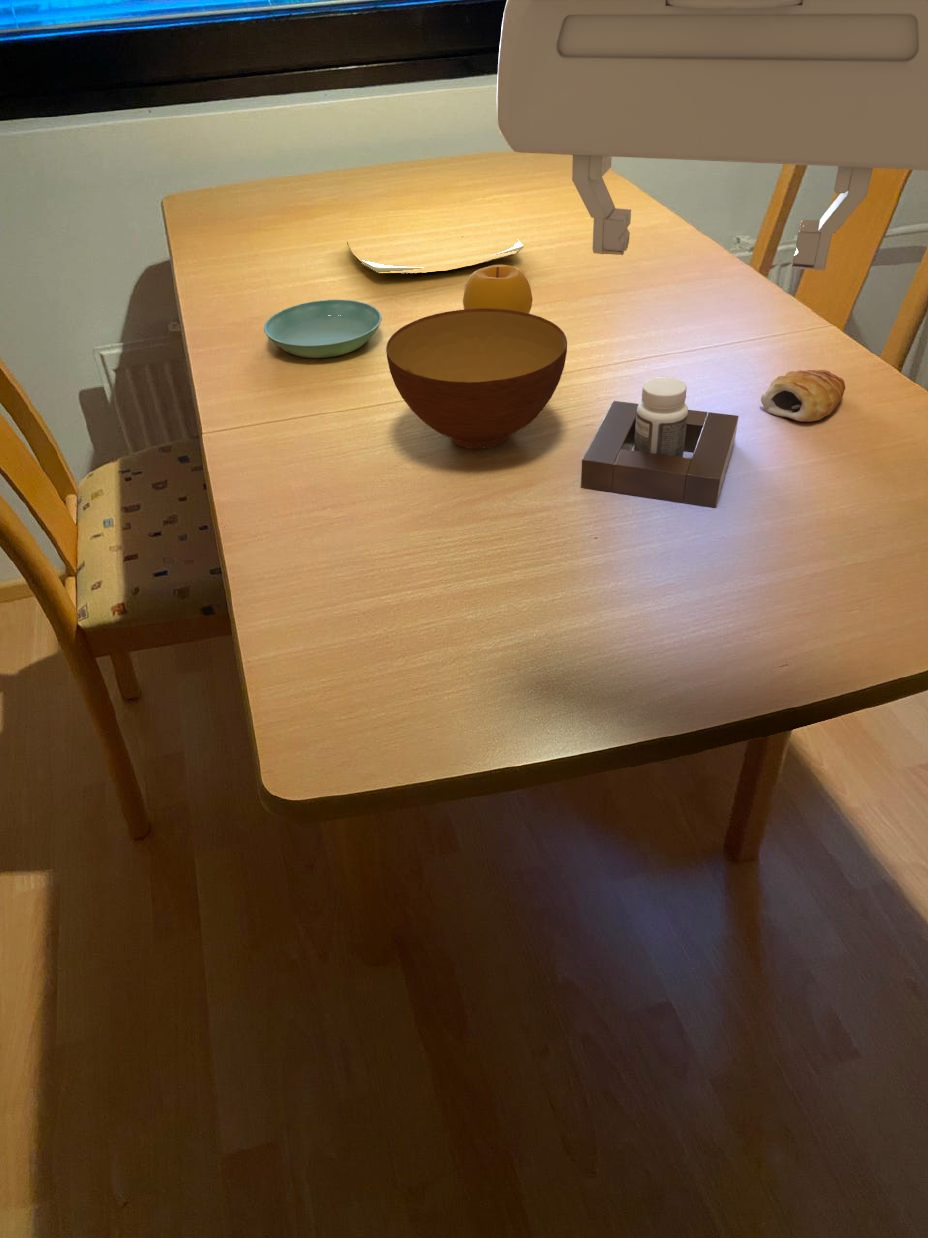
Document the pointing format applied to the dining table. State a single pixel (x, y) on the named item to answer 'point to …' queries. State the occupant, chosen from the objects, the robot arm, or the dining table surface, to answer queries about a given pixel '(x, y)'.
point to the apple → (498, 289)
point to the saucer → (323, 327)
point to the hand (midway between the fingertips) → (706, 258)
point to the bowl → (477, 371)
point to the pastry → (804, 395)
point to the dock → (660, 458)
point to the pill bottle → (662, 417)
